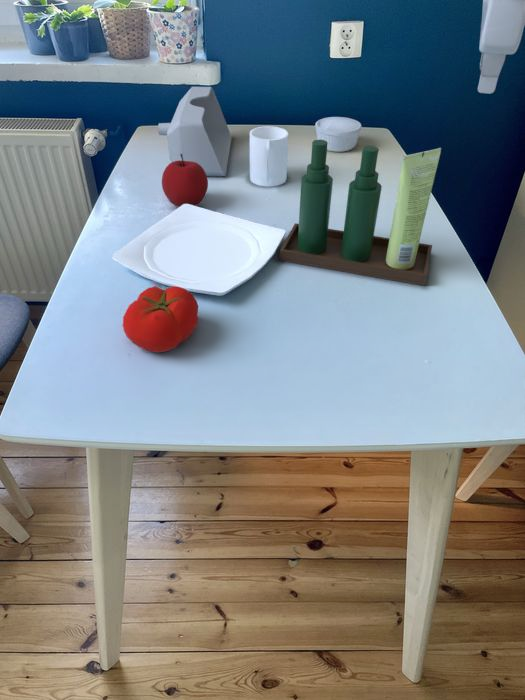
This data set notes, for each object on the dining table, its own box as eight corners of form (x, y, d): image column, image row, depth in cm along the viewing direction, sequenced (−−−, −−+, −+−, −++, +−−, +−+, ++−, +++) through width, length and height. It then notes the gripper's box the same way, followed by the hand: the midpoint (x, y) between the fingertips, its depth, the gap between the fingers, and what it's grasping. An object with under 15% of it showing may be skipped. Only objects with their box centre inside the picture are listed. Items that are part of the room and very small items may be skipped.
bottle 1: (328, 242, 99) (339, 138, 86) (322, 257, 95) (332, 150, 82) (301, 238, 100) (307, 134, 87) (294, 252, 96) (299, 146, 84)
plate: (294, 242, 100) (295, 229, 98) (226, 313, 84) (225, 299, 82) (184, 211, 108) (183, 199, 107) (103, 271, 92) (100, 257, 90)
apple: (157, 210, 109) (151, 162, 102) (173, 191, 115) (168, 144, 109) (200, 216, 107) (197, 167, 101) (214, 196, 114) (212, 149, 107)
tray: (429, 255, 97) (432, 244, 96) (424, 286, 90) (427, 275, 88) (294, 233, 102) (294, 223, 101) (279, 260, 95) (279, 250, 94)
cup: (248, 193, 115) (247, 147, 108) (250, 170, 124) (250, 125, 117) (286, 194, 115) (288, 147, 108) (286, 171, 124) (288, 126, 117)
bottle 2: (372, 250, 97) (389, 144, 84) (367, 265, 93) (385, 157, 81) (344, 245, 98) (356, 140, 85) (338, 260, 94) (350, 152, 82)
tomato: (116, 350, 77) (108, 314, 73) (153, 307, 85) (148, 271, 80) (177, 366, 75) (172, 330, 70) (210, 320, 82) (207, 285, 78)
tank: (169, 136, 139) (164, 84, 131) (231, 137, 139) (230, 85, 131) (153, 177, 121) (146, 120, 112) (225, 178, 120) (222, 120, 112)
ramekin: (308, 139, 139) (309, 117, 135) (349, 135, 141) (351, 114, 137) (322, 155, 130) (324, 133, 127) (365, 151, 133) (368, 130, 129)
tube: (388, 251, 97) (408, 142, 84) (416, 256, 95) (441, 146, 82) (382, 268, 92) (403, 156, 80) (412, 273, 91) (438, 160, 78)
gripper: (565, -62, 45) (517, 109, 55) (548, -77, 60) (512, 61, 69) (487, -63, 47) (452, 104, 56) (489, -76, 62) (461, 58, 71)
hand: (485, 80), depth 63 cm, fingers open, 8 cm apart
